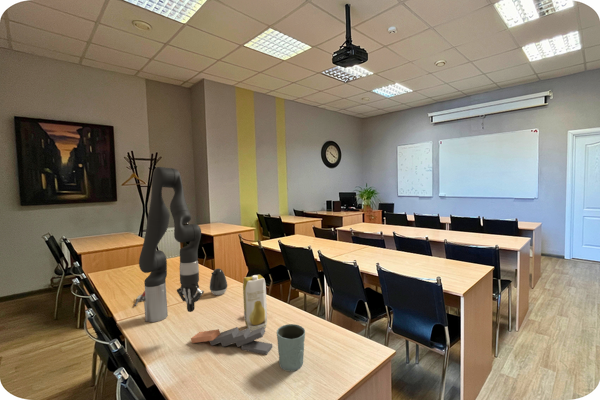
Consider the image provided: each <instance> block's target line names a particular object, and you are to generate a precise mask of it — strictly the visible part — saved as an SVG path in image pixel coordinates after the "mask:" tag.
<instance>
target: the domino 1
mask: <svg viewBox="0 0 600 400" xmlns="http://www.w3.org/2000/svg"><path fill="white" fill-rule="evenodd" d="M220 333H221V332H220V329H219V328H217V329H211V330H205V331H198V332H197V333H196V334H194V335H193V336H192V337H190V340H191V344H197V343H204V342H205V343H206V342H210V341H212V340H214V339H215V338H216V337H217V336H218V335H220Z"/></svg>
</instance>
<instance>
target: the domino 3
mask: <svg viewBox="0 0 600 400" xmlns="http://www.w3.org/2000/svg"><path fill="white" fill-rule="evenodd" d="M250 333H251V332H250V330H249V328H247V327H246V328H245V329H241V330H239V332H238V334H237V335H236V336H235V337H234V338H232V339H229V340H226V341H224V342H221V343H220V344H221V347H222V348H223V347H227V346H230V345H233V344H236V342H239V341H242V340H245V339H246V338H247V337H248V335H249V334H250Z"/></svg>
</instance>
